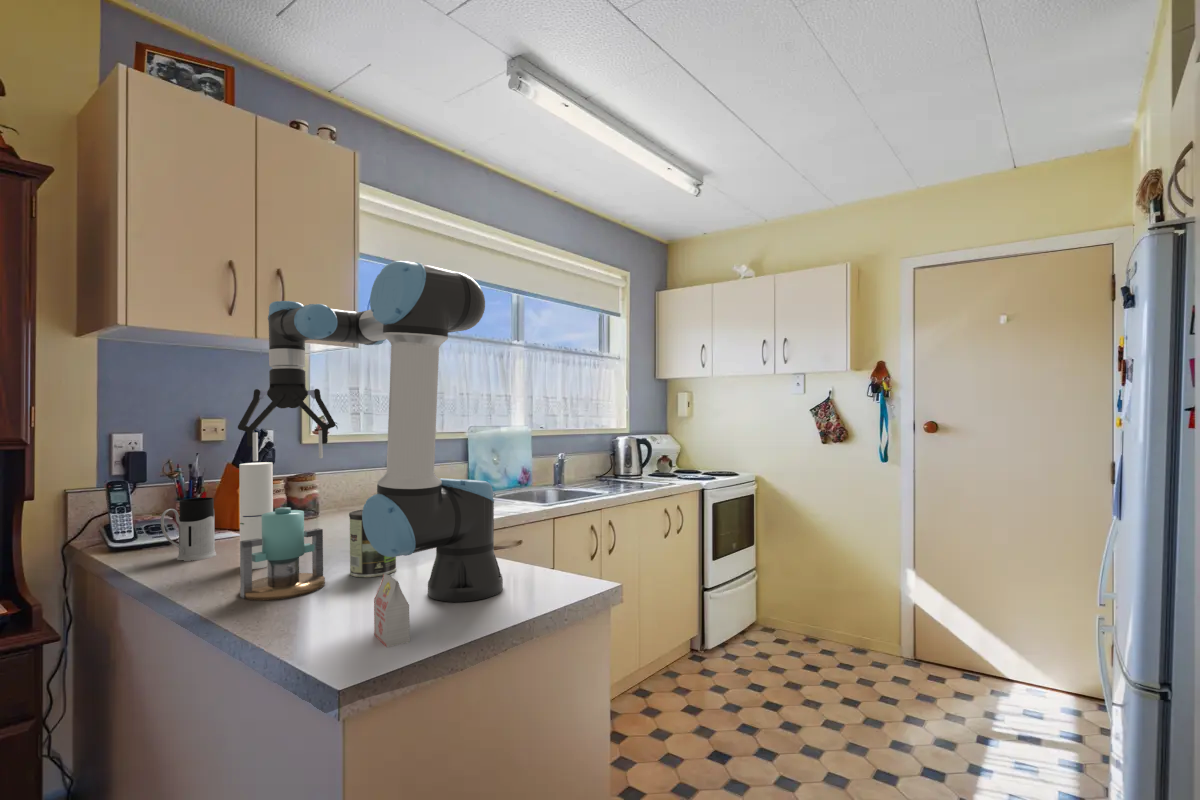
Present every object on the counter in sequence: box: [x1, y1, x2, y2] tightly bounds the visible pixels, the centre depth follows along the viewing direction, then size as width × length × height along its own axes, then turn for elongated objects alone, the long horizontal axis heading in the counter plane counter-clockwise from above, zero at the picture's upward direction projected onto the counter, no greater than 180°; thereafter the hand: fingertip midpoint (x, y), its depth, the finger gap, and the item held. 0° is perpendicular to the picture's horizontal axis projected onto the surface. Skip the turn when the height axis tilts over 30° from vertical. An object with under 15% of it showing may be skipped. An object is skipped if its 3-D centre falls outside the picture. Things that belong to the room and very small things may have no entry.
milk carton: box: [373, 574, 411, 648], centre depth 101 cm, size 4×7×10 cm, turn 36°
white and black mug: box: [160, 497, 217, 562], centre depth 158 cm, size 9×14×15 cm, turn 166°
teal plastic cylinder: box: [252, 506, 314, 562], centre depth 130 cm, size 8×12×10 cm, turn 141°
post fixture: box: [239, 527, 326, 602], centre depth 130 cm, size 16×16×11 cm
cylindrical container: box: [238, 461, 274, 570], centre depth 151 cm, size 7×7×25 cm
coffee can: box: [348, 509, 397, 578], centre depth 143 cm, size 10×10×14 cm
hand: (288, 459), depth 143 cm, fingers open, 13 cm apart
